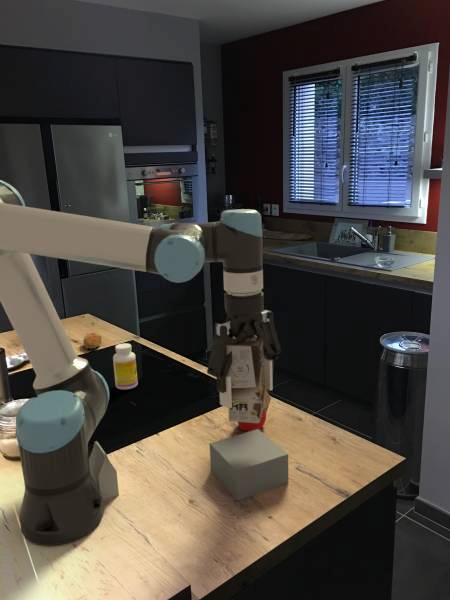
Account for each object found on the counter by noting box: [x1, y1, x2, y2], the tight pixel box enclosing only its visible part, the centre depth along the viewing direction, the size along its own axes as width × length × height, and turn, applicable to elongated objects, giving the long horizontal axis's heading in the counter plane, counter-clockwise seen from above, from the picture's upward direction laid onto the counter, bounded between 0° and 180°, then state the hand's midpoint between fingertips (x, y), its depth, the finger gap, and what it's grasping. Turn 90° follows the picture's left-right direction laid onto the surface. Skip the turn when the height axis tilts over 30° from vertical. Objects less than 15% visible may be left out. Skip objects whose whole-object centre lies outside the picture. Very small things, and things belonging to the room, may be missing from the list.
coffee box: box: [226, 335, 265, 423], centre depth 105 cm, size 9×6×16 cm
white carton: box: [89, 440, 120, 502], centre depth 107 cm, size 4×7×10 cm, turn 30°
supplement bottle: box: [112, 342, 139, 391], centre depth 157 cm, size 7×7×13 cm
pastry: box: [82, 332, 103, 349], centre depth 194 cm, size 9×7×4 cm
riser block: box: [209, 429, 289, 501], centre depth 110 cm, size 12×12×7 cm
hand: (247, 396), depth 106 cm, fingers closed on coffee box, 11 cm apart
